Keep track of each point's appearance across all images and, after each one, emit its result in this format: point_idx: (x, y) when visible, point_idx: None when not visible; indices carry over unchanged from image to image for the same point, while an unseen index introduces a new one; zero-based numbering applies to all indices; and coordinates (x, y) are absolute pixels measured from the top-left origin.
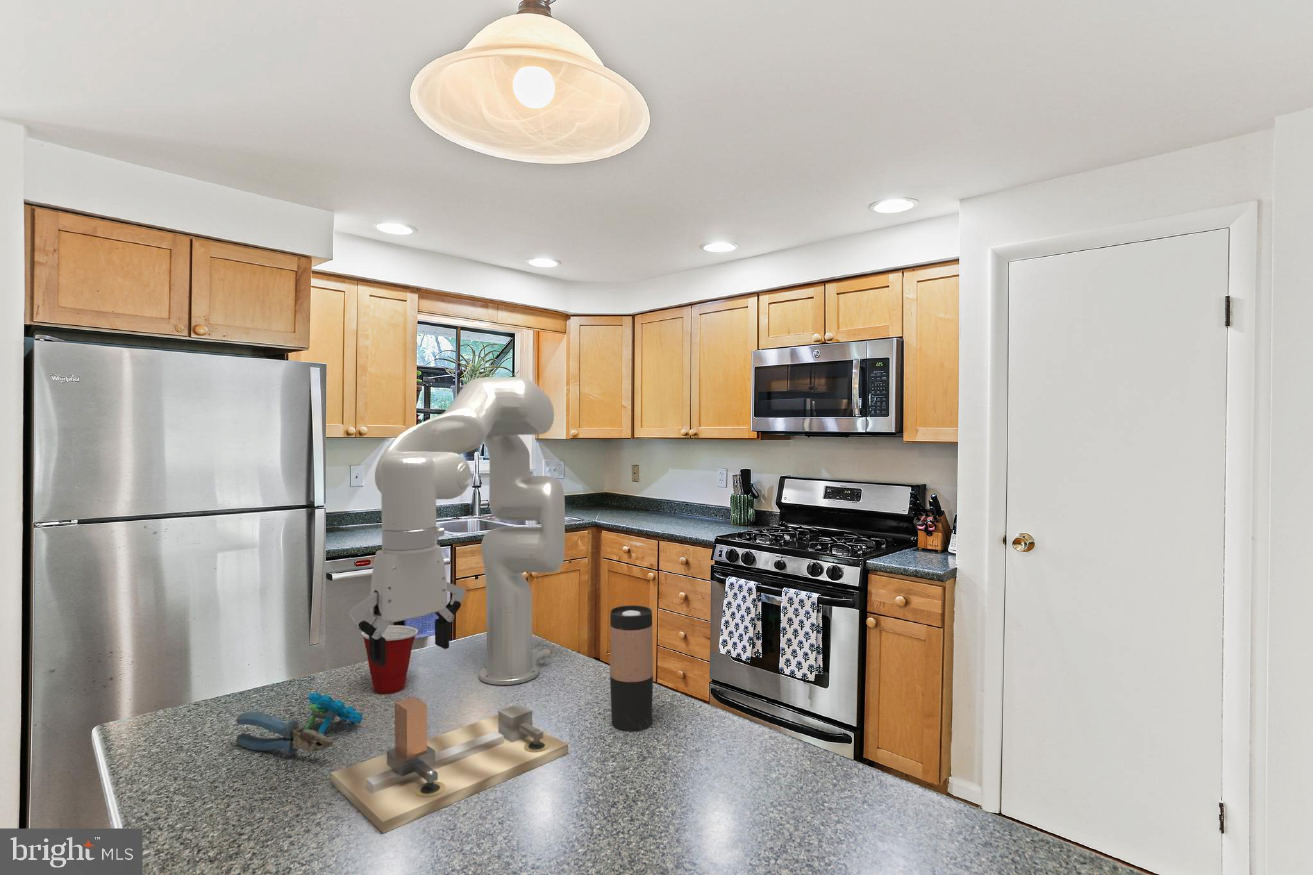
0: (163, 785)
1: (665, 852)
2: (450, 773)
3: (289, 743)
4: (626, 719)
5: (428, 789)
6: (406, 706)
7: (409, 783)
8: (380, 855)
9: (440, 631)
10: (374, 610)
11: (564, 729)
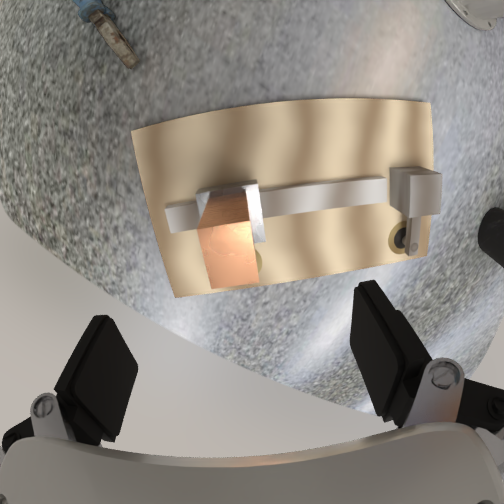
0: (4, 58)
1: (352, 399)
2: (281, 237)
3: (94, 25)
4: (486, 250)
5: None
6: (215, 270)
7: None
8: (171, 320)
9: (372, 368)
10: (12, 456)
11: (453, 190)
